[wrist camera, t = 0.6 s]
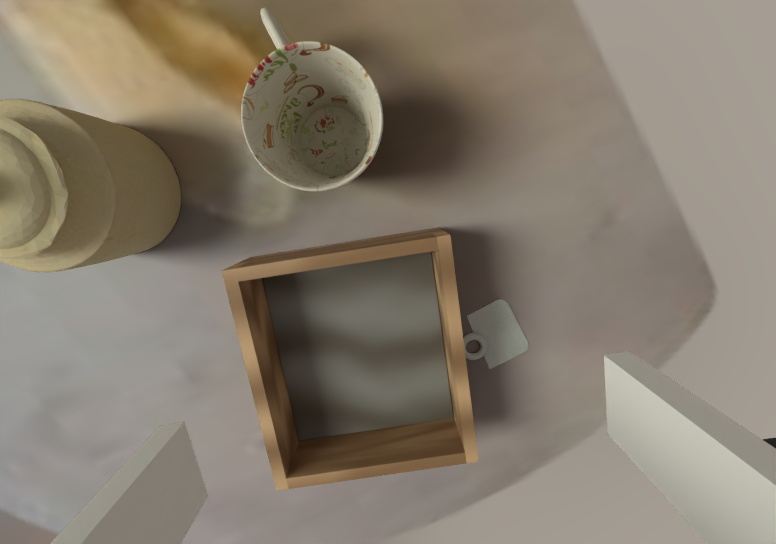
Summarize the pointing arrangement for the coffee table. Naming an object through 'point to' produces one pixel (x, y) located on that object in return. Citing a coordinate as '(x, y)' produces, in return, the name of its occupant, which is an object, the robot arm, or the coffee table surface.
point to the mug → (311, 113)
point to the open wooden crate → (356, 357)
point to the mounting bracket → (495, 334)
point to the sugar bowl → (79, 189)
